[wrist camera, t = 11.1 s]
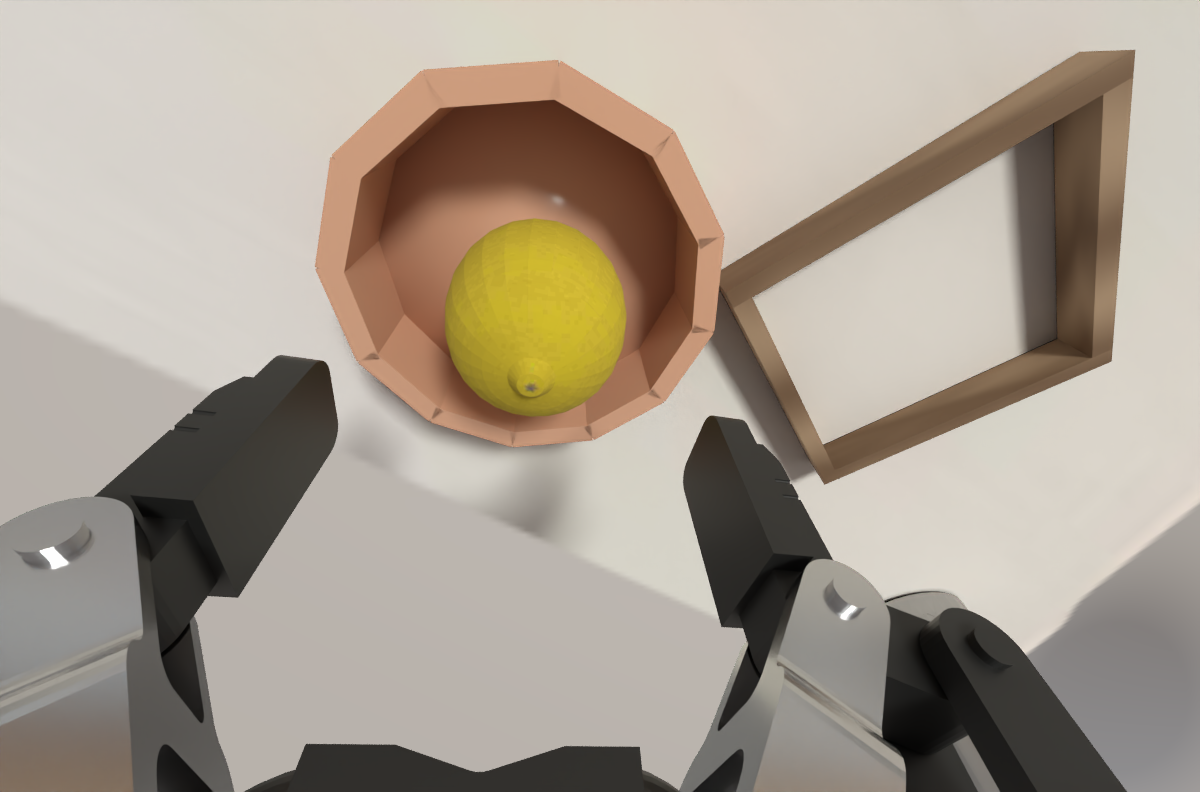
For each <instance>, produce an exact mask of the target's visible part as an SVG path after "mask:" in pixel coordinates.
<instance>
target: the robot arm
mask: <svg viewBox="0 0 1200 792" xmlns="http://www.w3.org/2000/svg"><path fill="white" fill-rule="evenodd" d="M337 432H338V419H337V413H336V407H335V401H334V395H333V389H332V383H331V377H330V371H329V368H328V365H327V364H326V363H325V362H324V361H320V360H313V359H306V358H299V357H291V356H284V355H279V356H277V357H275V358H274V359H273V360H272V361H270V362H269V363H268V364H267V365H266V366H265V367H264V368H263V369H262V370H261V371H260V372H259V373H258V374H257V375H256V376H255V377H254V378H252V377H245V376H244V377H242V378H240V379H238V380H236V381H234V382H232V383H229V384H227V385H225V386H223V387H221V388H219V389H217V390H215V391H213V392H212V393H211V394H210V395H209V396H208V397H206V398H205V399H204V400H203V401H202V402H201V403H200V404H199V405H197V406H196V407H195V408H194V409H193V413H192V414H187V415H186V416H185V417H184V418H183V419H182V420H180V421H179V422H178V423H177V424H176V425H175V429H174V430H169V431H168V432H167V433H166V434H165V435H163V436H162V437H161V438H160V439H159V440H158V441H157V442H156V443H154V444H153V445H152V446H151V447H150V448H149V449H148V450H146V451H145V452H144V453H143V454H142V455H141V456H140V457H139V458H137V459H136V460H135V461H134V462H133V463H132V464H131V465H130V466H128V467H127V468H126V469H125V470H124V471H123V472H122V473H120V474H119V475H118V476H117V477H116V478H115V479H114V480H113V481H111V482H110V483H109V484H108V485H107V486H106V487H105V488H103V489H102V490H101V491H100V492H99V493H98V494H97V495H95V496H94V497H81V498H74V499H68V500H64V501H59V502H55V503H52V504H48V505H45V506H42V507H39V508H37V509H34V510H31V511H29V512H26V513H24V514H22V515H20V516H18V517H16V518H14V519H12V520H10V521H8V522H7V523H5V524H3V525H1V526H0V792H234V788H233V784H232V779H231V776H230V772H229V768H228V765H227V762H226V759H225V756H224V754H223V751H222V749H221V746H220V744H219V741H218V738H217V734H216V730H215V726H214V721H213V715H212V709H211V703H210V697H209V691H208V685H207V679H206V673H205V667H204V662H203V655H202V649H201V643H200V637H199V631H198V625H197V622H196V619H195V617H194V615H195V613H196V612H197V610H198V609H199V607H200V606H201V605H202V603H203V602H204V600H205V599H206V598H207V596H219V597H239V595H240V594H241V592H242V591H243V589H244V587H245V586H246V584H247V583H248V581H249V579H250V578H251V576H252V575H253V573H254V572H255V570H256V568H257V567H258V566H259V564H260V562H261V561H262V559H263V558H264V556H265V555H266V553H267V551H268V550H269V548H270V546H271V545H272V543H273V542H274V540H275V539H276V537H277V536H278V534H279V532H280V531H281V529H282V528H283V526H284V525H285V523H286V522H287V520H288V518H289V517H290V515H291V514H292V512H293V511H294V509H295V507H296V506H297V504H298V503H299V501H300V500H301V498H302V497H303V495H304V493H305V492H306V490H307V489H308V487H309V485H310V484H311V482H312V481H313V479H314V478H315V476H316V474H317V473H318V471H319V470H320V468H321V467H322V465H323V463H324V462H325V460H326V459H327V457H328V456H329V454H330V453H331V451H332V449H333V447H334V444H335V441H336V437H337ZM683 485H684V491H685V495H686V499H687V502H688V506H689V510H690V513H691V517H692V521H693V524H694V528H695V532H696V535H697V539H698V543H699V546H700V550H701V554H702V557H703V561H704V564H705V568H706V572H707V575H708V579H709V583H710V586H711V590H712V594H713V597H714V601H715V605H716V608H717V612H718V616H719V619H720V623H721V627H732V628H743V629H744V632H745V635H746V638H747V641H746V643H745V644H744V645H743V647H742V649H741V651H740V653H739V656H738V659H737V661H736V664H735V666H734V669H733V671H732V674H731V677H730V679H729V682H728V684H727V687H726V689H725V692H724V695H723V697H722V700H721V702H720V705H719V707H718V710H717V713H716V715H715V718H714V720H713V723H712V726H711V728H710V731H709V733H708V735H707V737H706V740H705V742H704V744H703V745H702V747H701V749H700V751H699V752H698V754H697V756H696V757H695V759H694V761H693V763H692V765H691V766H690V768H689V770H688V773H687V774H686V777H685V779H684V781H683V783H682V786H681V788H680V790H679V791H678V790H677V789H676V788H674V787H673V786H671V785H670V784H669V783H667V782H665V781H664V780H662V779H660V778H658V777H656V776H654V775H653V774H651V773H649V772H646V771H643V770H642V765H641V756H640V747H588V746H585V747H583V746H564V747H561V748H558V749H555V750H552V751H548V752H546V753H542V754H539V755H536V756H533V757H530V758H527V759H524V760H521V761H517V762H514V763H512V764H508V765H505V766H502V767H499V768H496V769H493V770H489V771H485V772H473V771H469V770H466V769H464V768H460V767H458V766H455V765H452V764H449V763H446V762H443V761H441V760H437V759H435V758H432V757H429V756H426V755H423V754H420V753H417V752H415V751H412V750H409V749H406V748H403V747H400V746H397V745H356V744H355V745H354V744H353V745H352V744H351V745H350V744H348V745H347V744H306V745H305V747H304V750H303V752H302V755H301V758H300V760H299V762H298V765H297V768H296V770H293V771H290V772H287V773H284V774H281V775H279V776H276V777H274V778H272V779H269V780H267V781H264V782H262V783H260V784H258V785H256V786H254V787H252V788H250V789H248V790H246V791H245V792H1127V791H1126V790H1125V789H1124V787H1123V786H1122V785H1121V783H1120V782H1119V780H1118V779H1117V778H1116V776H1115V775H1114V774H1113V772H1112V771H1111V770H1110V768H1109V767H1108V766H1107V764H1106V763H1105V762H1104V760H1103V759H1102V757H1101V756H1100V755H1099V754H1098V752H1097V751H1096V749H1095V748H1094V747H1093V745H1092V744H1091V743H1090V742H1089V740H1088V739H1087V737H1086V736H1085V734H1084V733H1083V732H1082V730H1081V729H1080V728H1079V726H1078V725H1077V724H1076V722H1075V721H1074V720H1073V718H1072V717H1071V716H1070V714H1069V713H1068V712H1067V710H1066V709H1065V707H1064V706H1063V705H1062V703H1061V702H1060V701H1059V699H1058V698H1057V697H1056V695H1055V694H1054V693H1053V691H1052V690H1051V689H1050V687H1049V686H1048V685H1047V683H1046V682H1045V680H1044V679H1043V678H1042V676H1041V675H1040V674H1039V672H1038V671H1037V670H1036V668H1035V667H1034V666H1033V664H1032V663H1031V662H1030V660H1029V659H1028V657H1027V656H1026V655H1025V654H1024V652H1023V651H1022V650H1021V649H1020V647H1019V646H1018V645H1017V644H1016V643H1015V642H1014V641H1013V640H1012V639H1011V638H1010V637H1009V636H1008V635H1007V634H1006V633H1005V632H1003V631H1002V630H1001V629H1000V628H998V627H997V626H996V625H994V624H993V623H991V622H990V621H989V620H987V619H985V618H983V617H982V616H980V615H978V614H976V613H974V612H971V611H968V609H967V608H966V607H965V605H964V604H963V603H962V601H961V600H960V599H959V598H958V597H956V596H954V595H952V594H948V593H942V592H928V593H918V594H913V595H908V596H904V597H901V598H897V599H894V600H891V601H889V602H886V603H885V602H884V600H883V598H882V597H881V595H880V594H879V593H878V591H877V590H876V589H875V588H874V587H873V585H872V584H871V583H870V582H869V581H868V580H867V579H866V578H864V577H863V576H862V575H861V574H859V573H858V572H857V571H855V570H853V569H852V568H850V567H848V566H846V565H845V564H842V563H840V562H837V561H833V559H832V557H831V555H830V553H829V552H828V550H827V548H826V546H825V544H824V542H823V541H822V539H821V537H820V535H819V533H818V531H817V530H816V528H815V526H814V524H813V522H812V520H811V518H810V517H809V515H808V513H807V511H806V509H805V507H804V506H803V504H802V502H801V500H798V494H797V493H796V491H795V489H794V487H793V485H792V484H790V480H789V478H788V476H787V474H786V472H785V470H784V469H783V467H782V465H781V463H780V462H779V461H778V460H777V458H776V457H775V456H774V455H773V454H772V453H771V452H770V451H769V450H768V449H767V448H766V447H765V446H764V445H761V444H757V443H756V441H755V439H754V437H753V435H752V433H751V431H750V429H749V427H748V425H747V424H746V422H745V421H743V420H740V419H733V418H725V417H718V416H709V417H708V418H707V419H706V420H705V422H704V424H703V426H702V429H701V431H700V433H699V435H698V438H697V440H696V442H695V445H694V447H693V449H692V451H691V454H690V456H689V458H688V460H687V463H686V466H685V470H684V477H683Z"/></svg>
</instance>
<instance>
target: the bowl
mask: <svg viewBox="0 0 1200 792" xmlns="http://www.w3.org/2000/svg"><path fill="white" fill-rule="evenodd" d="M332 156H333V157H331V158H330V164H329V171H328V178H327V185H326V192H325V199H324V206H323V213H322V221H321V228H320V235H319V242H318V249H317V256H316V263H315V267H317V268H316V269H315V270H316V272H317V274H318V276H319V278H320V281H321V283H322V285H323V287H324V290H325V292H326V294H327V296H328V298H329V301H330V303H331V305H332V307H333V310H334V312H335V314H336V316H337V318H338V321H339V323H340V325H341V327H342V329H343V332H344V334H345V336H346V338H347V341H348V343H349V345H350V347H351V349H352V352H353V354H354V356H355V358H356V361H359V362H358V363H359V364H360V365H361V366H363V367H364V368H365V369H366V370H367V371H369V372H370V373H371V374H372V375H373V376H375V377H376V378H377V379H378V380H379V381H381V382H382V383H383V384H384V385H385V386H387V387H388V388H389V389H390V390H391V391H393V392H394V393H395V394H396V395H397V396H399V397H400V398H401V399H402V400H403V401H405V402H406V403H407V404H408V405H410V406H411V407H412V408H413V409H414V410H416V411H417V412H418V413H419V414H420V415H422V416H423V417H424V418H425V419H426V420H428V421H430V420H431V423H434V424H437V425H441V426H444V427H447V428H451V429H454V430H457V431H460V432H464V433H467V434H470V435H473V436H477V437H480V438H483V439H486V440H490V441H493V442H496V443H500V444H503V445H506V446H509V447H511V446H512V445H513V447H521V446H533V445H544V444H556V443H567V442H579V441H590V440H592V438H593V439H594V440H595V439H597V438H598V437H600V436H602V435H604V434H606V433H608V432H610V431H611V430H613V429H615V428H617V427H619V426H621V425H623V424H624V423H626V422H628V421H630V420H632V419H634V418H636V417H637V416H639V415H641V414H643V413H645V412H647V411H649V410H650V409H652V408H654V407H656V406H658V405H660V404H662V403H663V402H664V401H666V399H667V398H668V396H669V395H670V394H671V392H672V391H673V389H674V388H675V387H676V385H677V384H678V382H679V381H680V380H681V378H682V377H683V375H684V374H685V373H686V371H687V370H688V368H689V367H690V366H691V364H692V363H693V361H694V360H695V359H696V357H697V356H698V354H699V353H700V352H701V350H702V349H703V347H704V346H705V345H706V343H707V342H708V340H709V339H710V338H711V336H712V335H713V331H714V330H715V321H716V311H717V302H718V292H719V283H720V274H721V264H722V255H723V246H724V236H723V235H724V233H723V231H722V229H721V227H720V225H719V223H718V221H717V219H716V217H715V215H714V212H713V210H712V208H711V206H710V204H709V202H708V200H707V198H706V196H705V194H704V191H703V189H702V187H701V185H700V183H699V181H698V179H697V177H696V175H695V173H694V171H693V168H692V166H691V164H690V162H689V160H688V158H687V156H686V154H685V152H684V150H683V148H682V145H681V143H680V141H679V139H678V137H677V135H676V133H675V132H674V131H673V129H671V128H670V127H668V126H666V125H665V124H663V123H661V122H660V121H658V120H657V119H655V118H653V117H652V116H650V115H648V114H647V113H645V112H643V111H642V110H640V109H639V108H637V107H635V106H634V105H632V104H630V103H629V102H627V101H625V100H624V99H622V98H621V97H619V96H617V95H616V94H614V93H612V92H611V91H609V90H608V89H606V88H604V87H603V86H601V85H599V84H598V83H596V82H594V81H593V80H591V79H590V78H588V77H586V76H585V75H583V74H581V73H580V72H578V71H576V70H575V69H573V68H572V67H570V66H568V65H567V64H565V63H563V62H562V61H561V62H560V64H559V61H558V60H552V61H538V62H525V63H511V64H497V65H483V66H469V67H455V68H441V69H427V70H424V71H420V72H419V73H418V74H417V75H416V76H415V77H414V78H413V79H412V80H411V81H410V82H409V83H408V84H406V85H405V86H404V87H403V88H402V89H401V90H400V91H399V92H398V93H397V94H396V95H395V96H394V97H393V98H392V99H391V100H390V101H388V102H387V103H386V104H385V105H384V106H383V107H382V108H381V109H380V110H379V111H378V112H377V113H376V114H375V115H374V116H373V117H372V118H370V119H369V120H368V121H367V122H366V123H365V124H364V125H363V126H362V127H361V128H360V129H359V130H358V131H357V132H356V133H355V134H354V135H352V136H351V137H350V138H349V139H348V140H347V141H346V142H345V143H344V144H343V145H342V146H341V147H340V148H339V149H338V150H337V151H336V152H334V153H333V154H332ZM533 218H536V219H544V220H552V221H558V222H560V223H563V224H565V225H567V226H570V227H572V228H575V229H577V230H579V231H580V232H581V233H583V234H584V235H585V236H587V237H588V238H589V239H591V240H592V241H594V242H595V243H596V244H597V245H598V247H599V248H600V249H601V250H602V251H603V253H604V254H605V255H606V256H607V258H608V259H609V260H610V261H611V263H612V265H613V267H614V269H615V271H616V274H617V276H618V278H619V281H620V283H621V285H622V288H623V294H624V301H625V307H626V327H625V335H624V343H623V347H622V351H621V353H620V355H619V358H618V360H617V363H616V365H615V367H614V370H613V372H612V374H611V375H610V377H609V378H608V379H607V381H606V382H605V383H604V384H603V386H602V387H601V388H600V389H599V391H598V392H597V393H596V394H594V395H593V396H592V397H590V398H589V399H588V400H587V401H585V402H584V403H583V404H581V405H579V406H577V407H575V408H573V409H571V410H569V411H566V412H564V413H559V414H555V415H551V416H535V417H529V416H523V415H518V414H512V413H509V412H507V411H504V410H502V409H499V408H496V407H495V406H493V405H491V404H490V403H488V402H487V401H485V400H483V399H482V398H480V397H479V396H478V395H477V394H476V393H475V392H474V391H473V390H472V389H471V388H470V387H469V386H468V384H467V383H466V382H465V381H464V380H463V378H462V377H461V375H460V373H459V372H458V370H457V368H456V367H455V365H454V363H453V360H452V357H451V354H450V351H449V347H448V344H447V340H446V335H445V301H446V297H447V293H448V290H449V287H450V284H451V280H452V277H453V274H454V272H455V270H456V268H457V266H458V265H459V263H460V262H461V261H462V259H463V258H464V256H465V255H466V253H467V252H468V250H469V249H470V247H471V246H473V245H474V244H475V243H476V242H477V241H479V240H480V239H481V238H482V237H483V236H485V235H486V234H487V233H488V232H490V231H491V230H493V229H496V228H498V227H500V226H503V225H505V224H507V223H510V222H512V221H518V220H526V219H533ZM663 400H664V401H663Z"/></svg>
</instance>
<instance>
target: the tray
mask: <svg viewBox="0 0 1200 792" xmlns="http://www.w3.org/2000/svg"><path fill="white" fill-rule="evenodd" d="M1134 59H1135V50H1120V51H1091V52H1079V53H1077V54H1075V55H1074V56H1072V57H1071V58H1069V59H1067V60H1066V61H1064V62H1062V63H1061V64H1059V65H1057V66H1056V67H1054V68H1052V69H1051V70H1049V71H1048V72H1046V73H1044V74H1043V75H1041V76H1039V77H1038V78H1036V79H1034V80H1033V81H1031V82H1030V83H1028V84H1026V85H1025V86H1023V87H1021V88H1020V89H1018V90H1016V91H1015V92H1013V93H1011V94H1010V95H1008V96H1007V97H1005V98H1003V99H1002V100H1000V101H998V102H997V103H995V104H993V105H992V106H990V107H988V108H987V109H985V110H984V111H982V112H980V113H979V114H977V115H975V116H974V117H972V118H970V119H969V120H967V121H965V122H964V123H962V124H961V125H959V126H957V127H956V128H954V129H952V130H951V131H949V132H947V133H946V134H944V135H942V136H941V137H939V138H938V139H936V140H934V141H933V142H931V143H929V144H928V145H926V146H924V147H923V148H921V149H920V150H918V151H916V152H915V153H913V154H911V155H910V156H908V157H906V158H905V159H903V160H901V161H900V162H898V163H897V164H895V165H893V166H892V167H890V168H888V169H887V170H885V171H883V172H882V173H880V174H878V175H877V176H875V177H874V178H872V179H870V180H869V181H867V182H865V183H864V184H862V185H860V186H859V187H857V188H855V189H854V190H852V191H851V192H849V193H847V194H846V195H844V196H842V197H841V198H839V199H837V200H836V201H834V202H832V203H831V204H829V205H828V206H826V207H824V208H823V209H821V210H819V211H818V212H816V213H814V214H813V215H811V216H810V217H808V218H806V219H805V220H803V221H801V222H800V223H798V224H796V225H795V226H793V227H791V228H790V229H788V230H787V231H785V232H783V233H782V234H780V235H778V236H777V237H775V238H773V239H772V240H770V241H768V242H767V243H765V244H764V245H762V246H760V247H759V248H757V249H755V250H754V251H752V252H750V253H749V254H747V255H745V256H744V257H742V258H741V259H739V260H737V261H736V262H734V263H732V264H731V265H729V266H727V267H726V268H724V269H722V270H721V274H720V283H719V288H720V290H721V292H722V294H723V296H724V298H725V300H726V302H727V304H728V306H729V307H730V309H731V311H732V313H733V315H734V317H735V319H736V321H737V323H738V325H739V327H740V328H741V330H742V332H743V334H744V336H745V338H746V340H747V342H748V344H749V346H750V348H751V349H752V351H753V353H754V355H755V357H756V359H757V361H758V363H759V365H760V367H761V369H762V370H763V372H764V374H765V376H766V378H767V380H768V382H769V384H770V386H771V388H772V390H773V391H774V393H775V395H776V397H777V399H778V401H779V403H780V405H781V407H782V409H783V411H784V413H785V414H786V416H787V418H788V420H789V422H790V424H791V426H792V428H793V430H794V432H795V434H796V435H797V437H798V439H799V441H800V443H801V445H802V447H803V449H804V451H805V453H806V455H807V456H808V458H809V460H810V462H811V464H812V465H813V467H814V468H815V470H816V472H817V473H818V475H819V476H820V478H821V480H822V481H823V483H824V484H827V483H829V482H832V481H834V480H836V479H839V478H841V477H843V476H846V475H848V474H850V473H853V472H855V471H857V470H860V469H862V468H864V467H867V466H869V465H871V464H874V463H876V462H878V461H881V460H883V459H885V458H888V457H890V456H892V455H895V454H897V453H899V452H902V451H904V450H906V449H909V448H911V447H913V446H916V445H918V444H920V443H923V442H925V441H927V440H930V439H932V438H934V437H937V436H939V435H941V434H944V433H946V432H948V431H951V430H953V429H955V428H957V427H960V426H962V425H964V424H967V423H969V422H971V421H974V420H976V419H978V418H981V417H983V416H985V415H988V414H990V413H992V412H995V411H997V410H999V409H1002V408H1004V407H1006V406H1009V405H1011V404H1013V403H1016V402H1018V401H1020V400H1023V399H1025V398H1027V397H1030V396H1032V395H1034V394H1037V393H1039V392H1041V391H1044V390H1046V389H1048V388H1051V387H1053V386H1055V385H1058V384H1060V383H1062V382H1065V381H1067V380H1069V379H1072V378H1074V377H1076V376H1079V375H1081V374H1083V373H1086V372H1088V371H1090V370H1093V369H1095V368H1097V367H1100V366H1102V365H1104V364H1107V363H1109V362H1111V361H1112V348H1113V335H1114V322H1115V308H1116V295H1117V282H1118V269H1119V256H1120V243H1121V230H1122V216H1123V203H1124V190H1125V177H1126V164H1127V151H1128V138H1129V124H1130V111H1131V98H1132V85H1133V72H1134ZM1053 123H1054V164H1055V230H1056V295H1057V339H1056V340H1054V341H1051V342H1049V343H1047V344H1045V345H1043V346H1040V347H1038V348H1036V349H1034V350H1032V351H1029V352H1027V353H1025V354H1023V355H1021V356H1018V357H1016V358H1014V359H1012V360H1010V361H1007V362H1005V363H1003V364H1001V365H999V366H996V367H994V368H992V369H990V370H988V371H985V372H983V373H981V374H979V375H977V376H974V377H972V378H970V379H968V380H966V381H963V382H961V383H959V384H957V385H955V386H952V387H950V388H948V389H946V390H944V391H941V392H939V393H937V394H935V395H933V396H931V397H928V398H926V399H924V400H922V401H920V402H917V403H915V404H913V405H911V406H909V407H906V408H904V409H902V410H900V411H898V412H895V413H893V414H891V415H889V416H887V417H884V418H882V419H880V420H878V421H876V422H873V423H871V424H869V425H867V426H865V427H862V428H860V429H858V430H856V431H854V432H851V433H849V434H847V435H845V436H843V437H840V438H838V439H836V440H834V441H832V442H829V443H827V444H825V445H823V444H822V442H821V440H820V438H819V436H818V434H817V432H816V430H815V427H814V425H813V423H812V421H811V419H810V417H809V415H808V413H807V411H806V409H805V407H804V405H803V403H802V400H801V398H800V396H799V394H798V392H797V390H796V388H795V386H794V384H793V382H792V380H791V378H790V376H789V373H788V371H787V369H786V367H785V365H784V363H783V361H782V359H781V357H780V355H779V353H778V351H777V348H776V346H775V344H774V342H773V340H772V338H771V336H770V334H769V332H768V330H767V328H766V326H765V324H764V321H763V319H762V317H761V315H760V313H759V311H758V309H757V307H756V305H755V303H754V301H753V299H752V297H753V296H755V295H757V294H759V293H760V292H762V291H764V290H766V289H767V288H769V287H771V286H773V285H774V284H776V283H778V282H779V281H781V280H783V279H785V278H786V277H788V276H790V275H792V274H793V273H795V272H797V271H798V270H800V269H802V268H804V267H805V266H807V265H809V264H811V263H812V262H814V261H816V260H818V259H819V258H821V257H823V256H824V255H826V254H828V253H830V252H831V251H833V250H835V249H837V248H838V247H840V246H842V245H843V244H845V243H847V242H849V241H850V240H852V239H854V238H856V237H857V236H859V235H861V234H863V233H864V232H866V231H868V230H869V229H871V228H873V227H875V226H876V225H878V224H880V223H882V222H883V221H885V220H887V219H888V218H890V217H892V216H894V215H895V214H897V213H899V212H901V211H902V210H904V209H906V208H907V207H909V206H911V205H913V204H914V203H916V202H918V201H920V200H921V199H923V198H925V197H927V196H928V195H930V194H932V193H933V192H935V191H937V190H939V189H940V188H942V187H944V186H946V185H947V184H949V183H951V182H952V181H954V180H956V179H958V178H959V177H961V176H963V175H965V174H966V173H968V172H970V171H972V170H973V169H975V168H977V167H978V166H980V165H982V164H984V163H985V162H987V161H989V160H991V159H992V158H994V157H996V156H997V155H999V154H1001V153H1003V152H1004V151H1006V150H1008V149H1010V148H1011V147H1013V146H1015V145H1017V144H1018V143H1020V142H1022V141H1023V140H1025V139H1027V138H1029V137H1030V136H1032V135H1034V134H1036V133H1037V132H1039V131H1041V130H1042V129H1044V128H1046V127H1048V126H1049V125H1051V124H1053Z"/></svg>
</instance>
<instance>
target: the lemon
mask: <svg viewBox="0 0 1200 792" xmlns="http://www.w3.org/2000/svg"><path fill="white" fill-rule="evenodd" d="M625 327H626V307H625V301H624V294H623V288H622V285H621V283H620V281H619V278H618V276H617V274H616V271H615V269H614V267H613V265H612V263H611V261H610V260H609V259H608V258H607V256H606V255H605V254H604V253H603V251H602V250H601V249H600V248H599V247H598V245H597V244H596V243H595V242H594V241H592V240H591V239H589V238H588V237H587V236H585V235H584V234H583V233H581V232H580V231H579V230H577V229H575V228H572V227H570V226H567V225H565V224H563V223H560V222H558V221H552V220H544V219H536V218H533V219H526V220H518V221H512V222H510V223H507V224H505V225H503V226H500V227H498V228H496V229H493V230H491V231H490V232H488V233H487V234H486V235H485V236H483V237H482V238H481V239H480V240H479V241H477V242H476V243H475V244H474V245H473V246H471V247H470V249H469V250H468V252H467V253H466V255H465V256H464V258H463V259H462V261H461V262H460V263H459V265H458V266H457V268H456V270H455V272H454V274H453V277H452V280H451V284H450V287H449V290H448V293H447V297H446V301H445V335H446V340H447V344H448V347H449V351H450V354H451V357H452V360H453V363H454V365H455V367H456V368H457V370H458V372H459V373H460V375H461V377H462V378H463V380H464V381H465V382H466V383H467V384H468V386H469V387H470V388H471V389H472V390H473V391H474V392H475V393H476V394H477V395H478V396H479V397H480V398H482V399H483V400H485V401H487V402H488V403H490V404H491V405H493V406H495V407H496V408H499V409H502V410H504V411H507V412H509V413H512V414H518V415H523V416H529V417H535V416H551V415H555V414H559V413H564V412H566V411H569V410H571V409H573V408H575V407H577V406H579V405H581V404H583V403H584V402H585V401H587V400H588V399H589V398H590V397H592V396H593V395H594V394H596V393H597V392H598V391H599V389H600V388H601V387H602V386H603V384H604V383H605V382H606V381H607V379H608V378H609V377H610V375H611V374H612V372H613V370H614V367H615V365H616V363H617V360H618V358H619V355H620V353H621V351H622V347H623V343H624V335H625Z"/></svg>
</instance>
